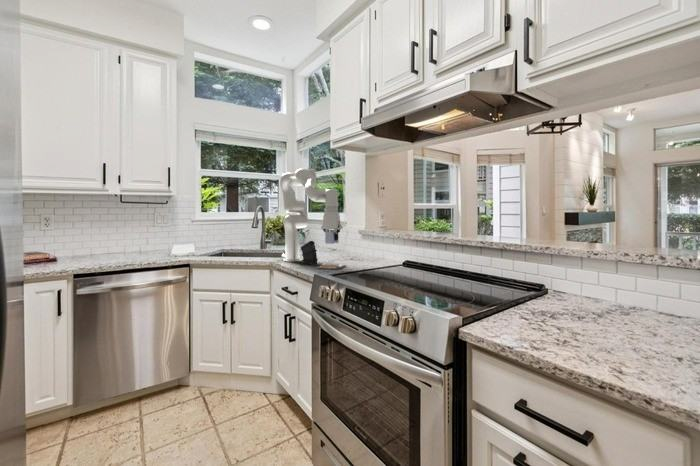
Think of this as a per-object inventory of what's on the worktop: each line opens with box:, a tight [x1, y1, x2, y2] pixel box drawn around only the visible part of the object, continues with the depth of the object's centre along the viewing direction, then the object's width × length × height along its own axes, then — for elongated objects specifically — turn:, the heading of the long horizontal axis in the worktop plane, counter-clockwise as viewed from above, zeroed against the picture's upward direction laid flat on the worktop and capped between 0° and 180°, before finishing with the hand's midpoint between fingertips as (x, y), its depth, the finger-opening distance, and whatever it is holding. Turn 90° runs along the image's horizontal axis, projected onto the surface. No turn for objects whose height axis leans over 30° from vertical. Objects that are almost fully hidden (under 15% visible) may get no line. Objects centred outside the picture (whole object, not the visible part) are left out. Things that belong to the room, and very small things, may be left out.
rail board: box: [316, 261, 347, 271], centre depth 200 cm, size 12×14×2 cm
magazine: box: [299, 240, 319, 266], centre depth 214 cm, size 4×13×15 cm, turn 46°
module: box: [324, 229, 340, 245], centre depth 198 cm, size 5×7×8 cm
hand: (332, 239), depth 199 cm, fingers closed on module, 5 cm apart
